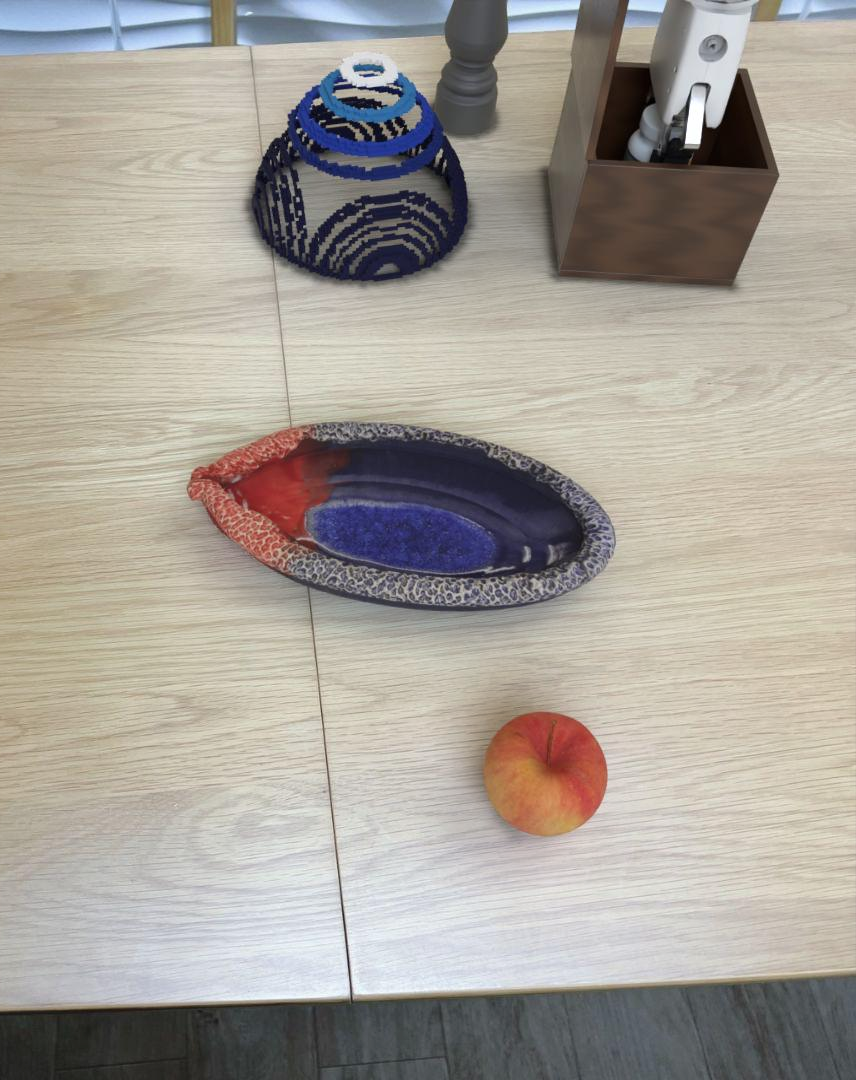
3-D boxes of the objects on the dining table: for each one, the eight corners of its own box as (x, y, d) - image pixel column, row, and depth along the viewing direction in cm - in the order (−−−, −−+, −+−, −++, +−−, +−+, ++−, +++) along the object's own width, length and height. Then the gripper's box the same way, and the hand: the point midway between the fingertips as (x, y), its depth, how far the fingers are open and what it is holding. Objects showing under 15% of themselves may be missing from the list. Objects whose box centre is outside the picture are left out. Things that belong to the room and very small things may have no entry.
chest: (706, 180, 108) (747, 68, 98) (731, 287, 99) (780, 175, 89) (547, 171, 108) (573, 58, 98) (558, 276, 99) (588, 164, 89)
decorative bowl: (495, 264, 100) (523, 122, 88) (280, 295, 96) (280, 153, 85) (430, 136, 111) (447, -5, 99) (236, 160, 108) (230, 18, 96)
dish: (598, 664, 75) (616, 627, 71) (167, 585, 78) (161, 544, 74) (608, 492, 84) (624, 450, 80) (221, 426, 87) (218, 382, 83)
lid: (617, -147, 85) (608, -147, 85) (640, -47, 75) (629, -48, 76) (578, 54, 98) (570, 54, 98) (593, 160, 89) (584, 159, 89)
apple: (485, 861, 67) (507, 811, 61) (464, 751, 71) (483, 694, 65) (602, 851, 68) (636, 800, 61) (574, 742, 72) (603, 684, 65)
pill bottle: (666, 238, 100) (699, 143, 92) (603, 224, 101) (631, 128, 93) (674, 201, 103) (708, 106, 95) (614, 187, 104) (642, 92, 96)
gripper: (791, 29, 78) (711, 233, 93) (749, -86, 88) (683, 115, 103) (685, 23, 78) (622, 228, 93) (656, -90, 88) (603, 111, 103)
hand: (655, 167), depth 98 cm, fingers closed on pill bottle, 5 cm apart
